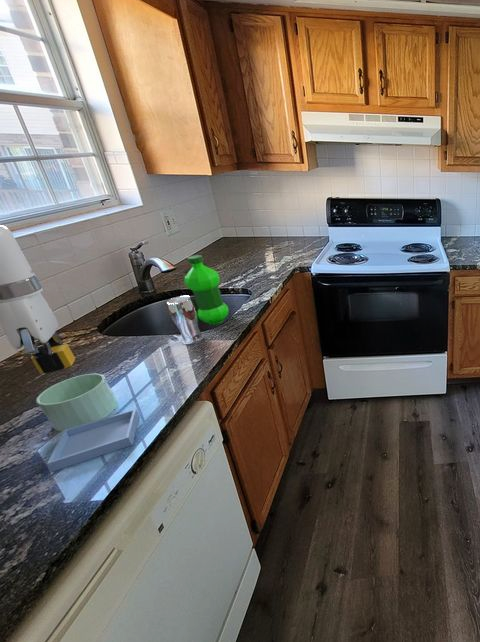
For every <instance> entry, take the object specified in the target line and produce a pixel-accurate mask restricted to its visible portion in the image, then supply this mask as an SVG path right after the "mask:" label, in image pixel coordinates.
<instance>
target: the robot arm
mask: <svg viewBox="0 0 480 642" xmlns="http://www.w3.org/2000/svg"><path fill="white" fill-rule="evenodd" d="M43 291H44V289H43V287H42V285H41V283H40V282H39V280H38V278H37V276H36V275H35V272H34V271H33V269H32V267H31V265H30V263H29V261H28V260H27V258H26V256H25V254H24V253H23V251H22V249H21V247H20V245H19V243H18V241H17V239H16V238H15V236H14V234H13V233H12V231H11V229H10V228H8V227H7V226H6V225H5V226H4V225H1V224H0V327H1V329H2V331H3V332H4V335H5V336H6V338H7V340H8V342H9V343H10V345H11V347H12V348H13V349H15V350H20V349H22V348H23V349H24V352H25V354H26V355H31V357H32V356H33V358H34V359H36V361H37V362H38V364H39V366H40V367H41V369H42V371H43V372H44V373H43V374H49V373H53V372H58V371H62V370H64V369H65V368H66V367H65V366H64V364H63V363H62V361H61V359H60V358H59V356H58V354H57V352H55V353H54V352H53V350H52V348H51V347H55V346H59V345H64V344H63V343H62V340H61V338H60V336H59V335H58V332H57V330H58V329H59V321H58V319H57V317H56V315H55V313H54V312H53V310H52V309H51V306H50V305H49V303H48V302H47V300H46V299H45V298H44V296H43V295H42V292H43ZM64 367H65V368H64Z"/></svg>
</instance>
